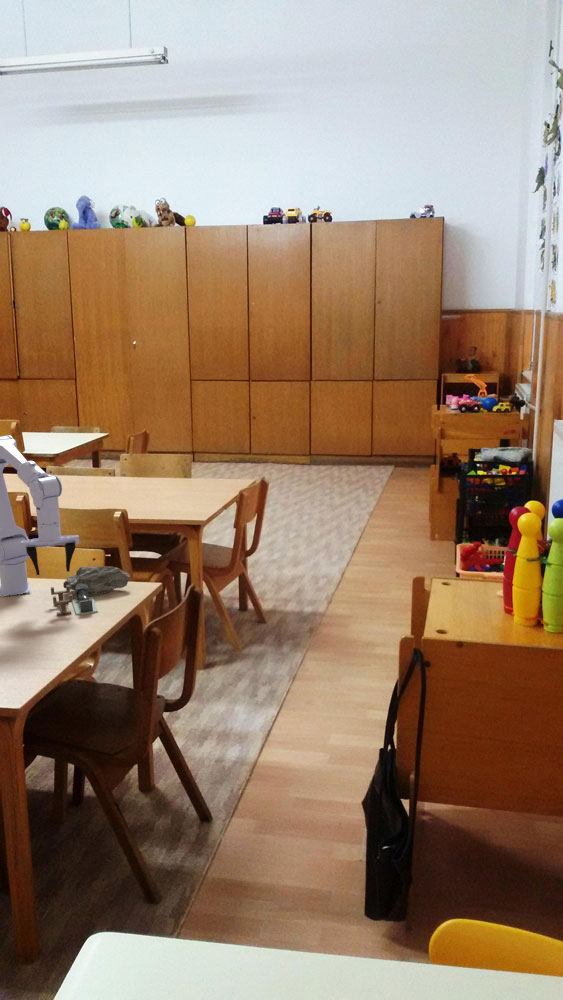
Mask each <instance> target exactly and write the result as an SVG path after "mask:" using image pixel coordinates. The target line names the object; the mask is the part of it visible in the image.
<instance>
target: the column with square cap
mask: <svg viewBox="0 0 563 1000" xmlns="http://www.w3.org/2000/svg"><path fill="white" fill-rule="evenodd" d="M75 594H76V599H77V600H80V609H81V613H85V612H92V611H93V607H92V600H89V598H90V597H89V594H88V588H87V587H85V588H77V589H76V592H75Z"/></svg>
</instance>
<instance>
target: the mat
mask: <svg viewBox="0 0 563 1000" xmlns="http://www.w3.org/2000/svg"><path fill="white" fill-rule="evenodd" d="M88 598H89V600H92V607H93V611H92V612H85V613H81V609H80V600H77V598H76V599H75V598H74V599H73V603H72V606H73V609H74V612H75V615H76V616H80V615H88V614H94V613H95V614H96V613H98V612H99V609H98V607H97V604H96V602H95V601H96V600H95V599H94V597H93V596H90V597H88Z"/></svg>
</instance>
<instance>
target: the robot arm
mask: <svg viewBox="0 0 563 1000" xmlns="http://www.w3.org/2000/svg"><path fill="white" fill-rule="evenodd" d="M17 445H18V444H17V440H16V439H14V438H13V436H12V435H9V434H6V435H1V436H0V597H8V596H9V595H10V596H15V595H16V596H17V594H18V595H24V594H23V593H26V594H30V593H31V588H30V582H28V572H27V560H29V558H30V560H31V563H32V564H33V566H34V569H35V572H36V573H35V574H36V576H40V569H39V561H38V551H37V548H43V547H44V548H45V547H54V546H55V547H57V546H62V545H63V546H64V550H65V551H64V552H65V569H66V570H65V571H66V572H67V573H68V572H70V569H71V563H72V558H73V554H74V553H75V550H76V545H79V544H80V537H79V535H78V534H76V535H75V534H74V535H73V534H72V535H62V530H61V529H62V528H61V519H60V505H59V497H60V496H61V495H62V491H63V485H62V482H61V480H60V478H59V477H58V476H57V475H54V474H48V473H46V472H45V470H43V469H42V468H41V467H40V466H39V465H38V464H37V463H36V462H35V461H33V460H27V458H25V456H23V454H22V452H20V451H19V449H18V446H17ZM9 465H10V466H11V467H12V468H14V469H15V470H16V471H17V472H16V474H17V477H18V479H20V480H21V481H22V483H23V484H25V485H26V487H28V488H29V494H30V496H31V498H32V502H33V503H32V504H33V506H34V508H35V510H36V511H35V512H36V522H37V534H38V538H32V539H29V537H28V534H27V532H26V529H23V527H22V528H21V527H20V526H18V525H16V520H15V517H14V512H13V508H12V505H11V501H10V497H9V492H8V487H7V485H6V481H5V476H4V473H3V471H4V469H5V467H7V466H9ZM10 596H9V597H10Z"/></svg>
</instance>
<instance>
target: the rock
mask: <svg viewBox="0 0 563 1000" xmlns="http://www.w3.org/2000/svg"><path fill="white" fill-rule="evenodd" d="M130 578H131V575H130V573H128V572H126V571H124V570H122V569H121V568H119V567H116V566H96V565H93V566H90V565H88V566H87V565H86V566H80V567H79V569H77V570H76V573H75V574H70V575H68V576H67V578H66V580H65V581H63V586H62V587H63V588H64V589H66V585H69V587H70V591H71V590H72V591H74V592H75V593H76V589H77V588H85V587H87V588H88V595H94V594H101V595H102V594H106V593H110V592H112V591H113V590H114V589H115V590H116V589H122V588H125V587H126V586H127V585H128V583H129V581H130Z"/></svg>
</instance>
